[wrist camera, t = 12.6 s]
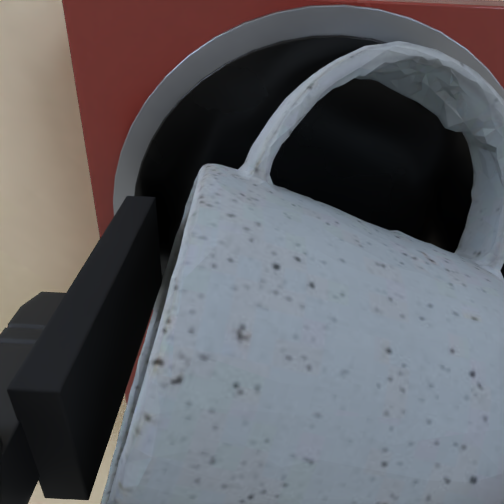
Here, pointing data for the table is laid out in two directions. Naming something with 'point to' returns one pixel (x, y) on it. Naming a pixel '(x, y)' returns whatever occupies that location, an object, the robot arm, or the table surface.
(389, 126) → the burner plate
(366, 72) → the ceramic mug
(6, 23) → the table surface
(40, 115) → the table surface
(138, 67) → the hotplate
